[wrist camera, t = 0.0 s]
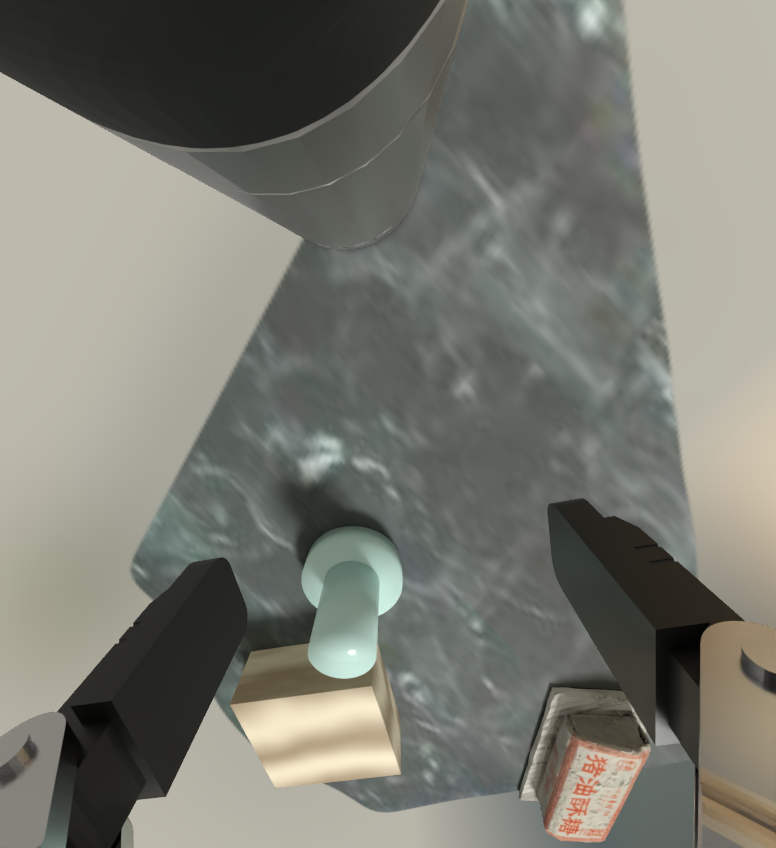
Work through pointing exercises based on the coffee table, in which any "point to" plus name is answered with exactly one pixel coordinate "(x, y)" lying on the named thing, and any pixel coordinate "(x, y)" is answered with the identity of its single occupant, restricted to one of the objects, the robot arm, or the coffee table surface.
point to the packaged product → (584, 762)
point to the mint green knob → (349, 597)
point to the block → (317, 719)
